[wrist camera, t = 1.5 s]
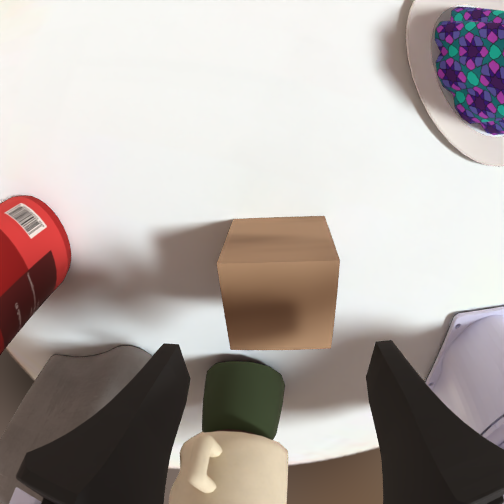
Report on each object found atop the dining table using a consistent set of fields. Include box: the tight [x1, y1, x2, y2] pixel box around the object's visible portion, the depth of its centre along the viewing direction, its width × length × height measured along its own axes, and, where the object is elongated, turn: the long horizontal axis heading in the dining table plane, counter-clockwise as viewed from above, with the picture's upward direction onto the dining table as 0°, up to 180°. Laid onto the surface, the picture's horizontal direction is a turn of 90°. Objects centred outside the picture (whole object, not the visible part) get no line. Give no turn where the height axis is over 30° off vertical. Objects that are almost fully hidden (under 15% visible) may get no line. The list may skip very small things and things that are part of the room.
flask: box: [0, 346, 152, 504], centre depth 16 cm, size 15×6×20 cm, turn 111°
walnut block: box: [217, 216, 340, 350], centre depth 16 cm, size 5×5×5 cm
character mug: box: [168, 361, 288, 504], centre depth 17 cm, size 11×7×13 cm, turn 15°
